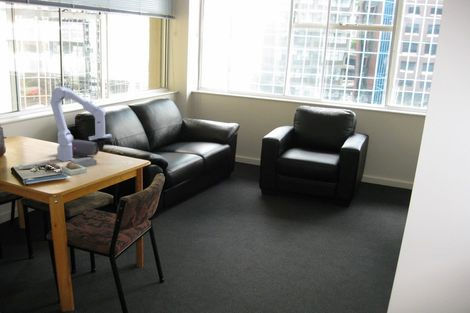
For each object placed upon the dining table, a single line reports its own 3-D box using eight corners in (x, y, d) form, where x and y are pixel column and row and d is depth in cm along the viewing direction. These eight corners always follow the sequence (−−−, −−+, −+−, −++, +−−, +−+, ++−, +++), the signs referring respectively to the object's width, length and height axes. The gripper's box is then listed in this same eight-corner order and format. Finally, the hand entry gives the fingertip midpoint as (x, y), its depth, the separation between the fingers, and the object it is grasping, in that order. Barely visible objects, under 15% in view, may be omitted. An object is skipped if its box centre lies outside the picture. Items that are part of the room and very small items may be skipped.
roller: (68, 170, 255) (65, 164, 254) (74, 166, 258) (71, 161, 256) (73, 172, 252) (70, 166, 250) (79, 169, 254) (76, 163, 252)
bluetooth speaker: (59, 155, 287) (58, 139, 284) (67, 152, 296) (67, 137, 293) (91, 159, 282) (91, 143, 279) (99, 155, 291) (99, 140, 288)
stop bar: (47, 167, 260) (47, 162, 259) (50, 166, 261) (50, 161, 260) (57, 172, 252) (56, 167, 251) (60, 171, 253) (60, 166, 253)
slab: (70, 164, 269) (70, 159, 269) (90, 161, 277) (89, 157, 277) (77, 168, 263) (76, 163, 262) (96, 165, 271) (96, 160, 270)
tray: (61, 170, 255) (61, 166, 254) (77, 168, 262) (77, 164, 261) (70, 175, 248) (70, 170, 248) (86, 172, 255) (86, 168, 254)
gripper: (92, 130, 265) (93, 153, 269) (114, 128, 276) (114, 149, 279) (86, 128, 270) (87, 151, 273) (108, 126, 280) (108, 147, 284)
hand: (100, 150), depth 276 cm, fingers closed
